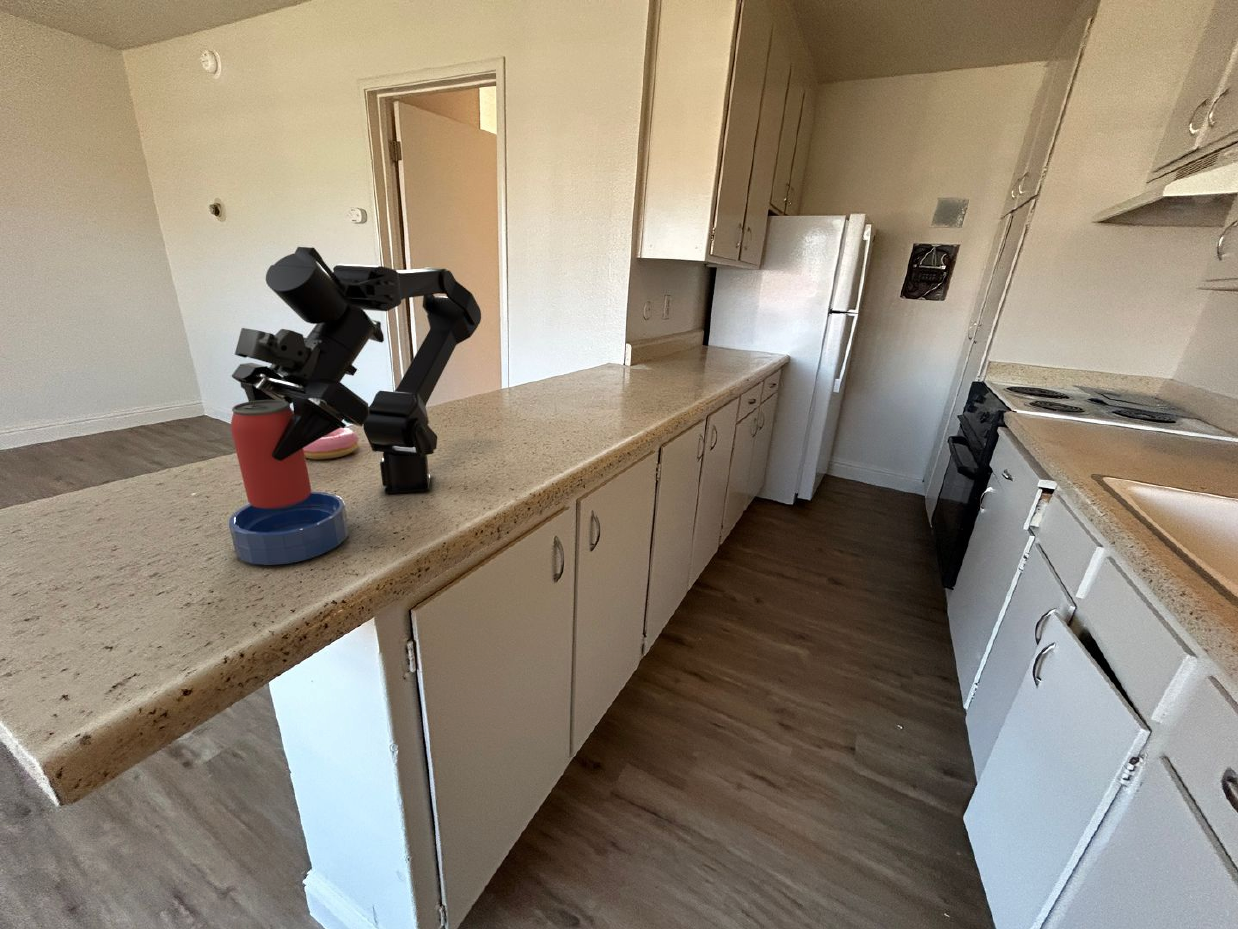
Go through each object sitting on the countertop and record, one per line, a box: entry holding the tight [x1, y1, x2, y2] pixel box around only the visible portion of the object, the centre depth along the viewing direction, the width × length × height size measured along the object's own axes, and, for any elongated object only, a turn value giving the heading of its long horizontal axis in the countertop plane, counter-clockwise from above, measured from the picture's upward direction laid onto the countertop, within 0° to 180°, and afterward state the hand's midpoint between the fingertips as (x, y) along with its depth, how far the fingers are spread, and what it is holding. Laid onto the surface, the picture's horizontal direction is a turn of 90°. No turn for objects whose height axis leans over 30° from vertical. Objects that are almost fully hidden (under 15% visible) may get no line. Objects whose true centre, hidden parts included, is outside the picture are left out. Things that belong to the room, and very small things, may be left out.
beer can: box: [230, 400, 312, 510], centre depth 61 cm, size 7×7×12 cm
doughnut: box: [303, 427, 360, 460], centre depth 96 cm, size 11×11×4 cm
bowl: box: [228, 491, 350, 566], centre depth 64 cm, size 12×12×4 cm
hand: (258, 452), depth 59 cm, fingers closed on beer can, 6 cm apart
